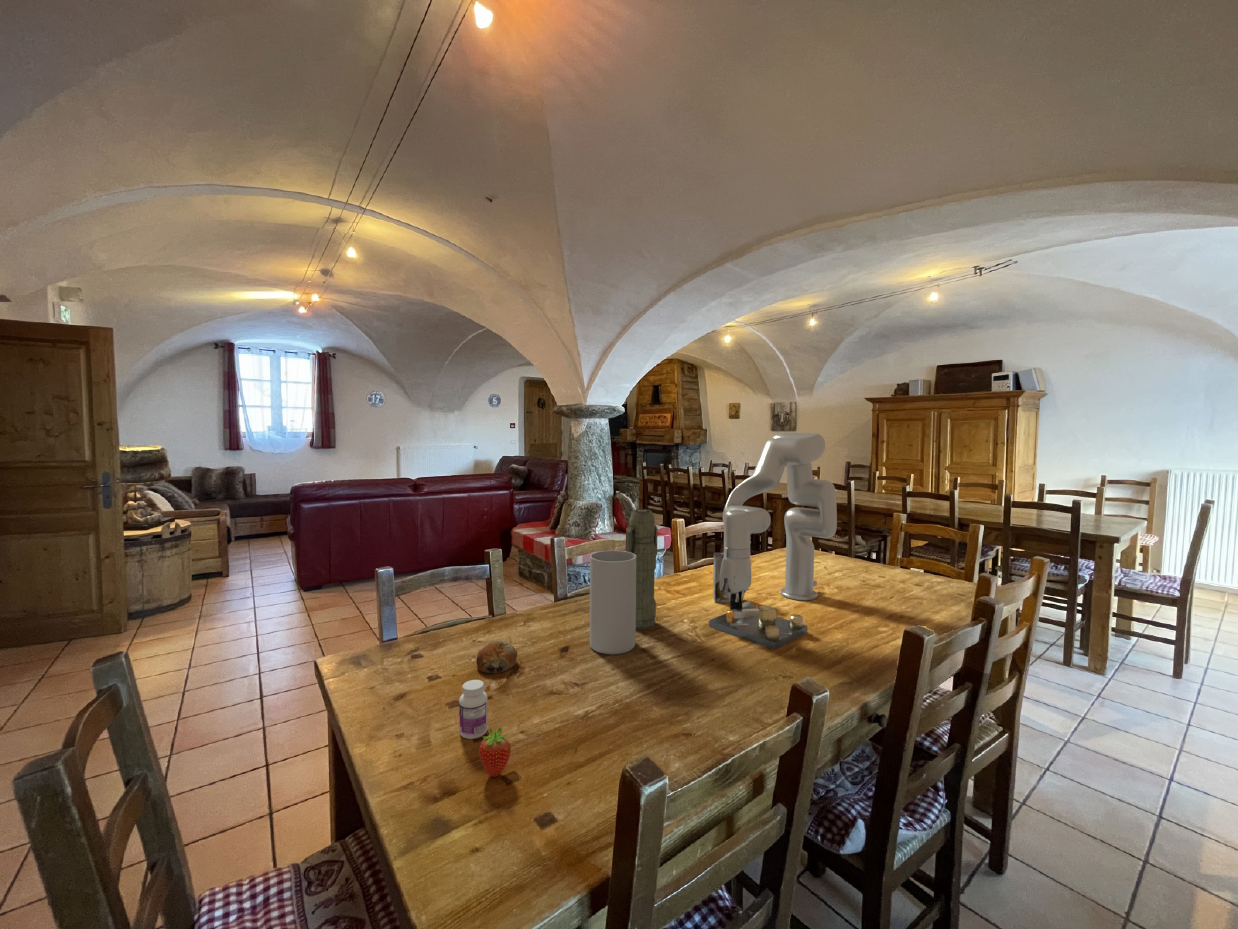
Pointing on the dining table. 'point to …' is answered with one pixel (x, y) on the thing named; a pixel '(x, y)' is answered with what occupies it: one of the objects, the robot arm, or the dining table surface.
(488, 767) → the fruit
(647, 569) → the stone statue
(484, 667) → the bread roll
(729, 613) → the ball-ended bar
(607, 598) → the cylinder vase
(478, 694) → the pill bottle
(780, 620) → the base
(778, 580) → the dining table surface
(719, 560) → the coffee box
